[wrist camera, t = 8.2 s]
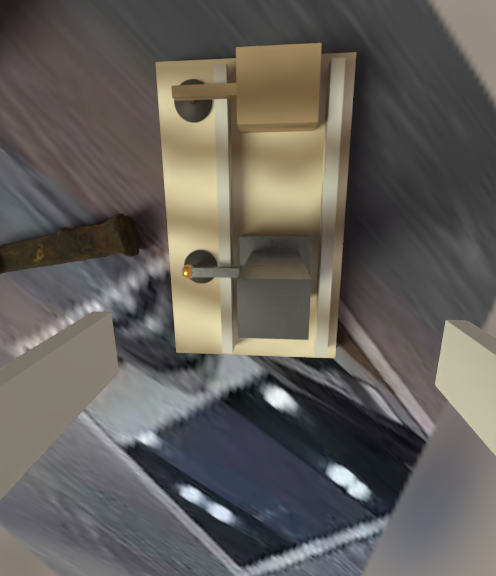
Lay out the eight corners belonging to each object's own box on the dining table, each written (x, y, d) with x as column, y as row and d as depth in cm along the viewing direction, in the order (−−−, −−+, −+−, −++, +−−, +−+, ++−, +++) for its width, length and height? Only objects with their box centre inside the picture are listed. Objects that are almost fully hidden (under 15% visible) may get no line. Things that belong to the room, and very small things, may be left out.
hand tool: (136, 212, 32) (113, 213, 27) (145, 252, 33) (124, 259, 28) (-30, 237, 34) (-77, 242, 30) (-17, 274, 35) (-61, 284, 30)
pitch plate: (164, 71, 28) (140, 44, 23) (350, 63, 26) (366, 31, 22) (182, 344, 35) (166, 366, 30) (331, 349, 33) (340, 373, 28)
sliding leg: (187, 234, 29) (126, 254, 17) (309, 234, 28) (331, 256, 16) (190, 297, 31) (137, 354, 19) (306, 299, 30) (325, 360, 18)
